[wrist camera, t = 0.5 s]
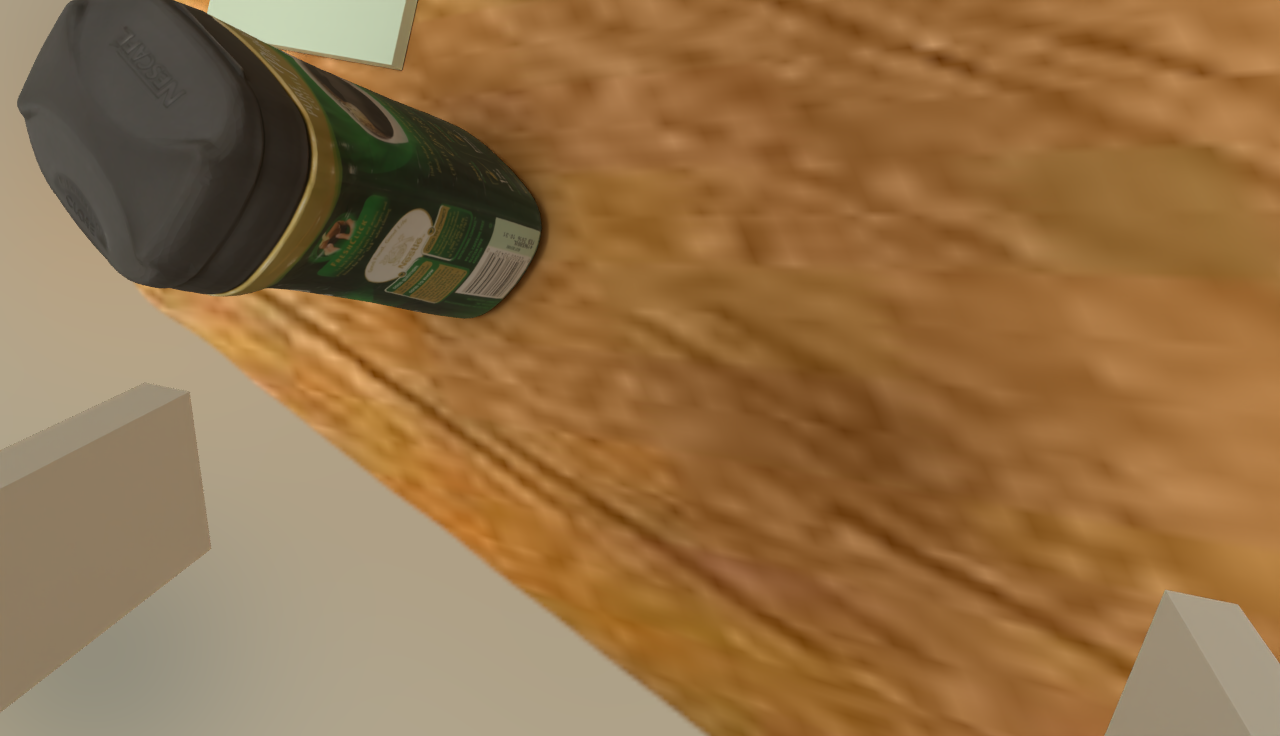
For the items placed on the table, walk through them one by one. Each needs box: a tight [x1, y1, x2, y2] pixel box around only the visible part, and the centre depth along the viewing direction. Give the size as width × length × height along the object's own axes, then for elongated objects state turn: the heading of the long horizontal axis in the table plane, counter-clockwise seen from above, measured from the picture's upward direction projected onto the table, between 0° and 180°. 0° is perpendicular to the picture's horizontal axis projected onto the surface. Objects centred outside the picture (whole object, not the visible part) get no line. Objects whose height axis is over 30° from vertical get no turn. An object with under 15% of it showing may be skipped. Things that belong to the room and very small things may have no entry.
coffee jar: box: [17, 0, 542, 318], centre depth 32 cm, size 10×8×19 cm
